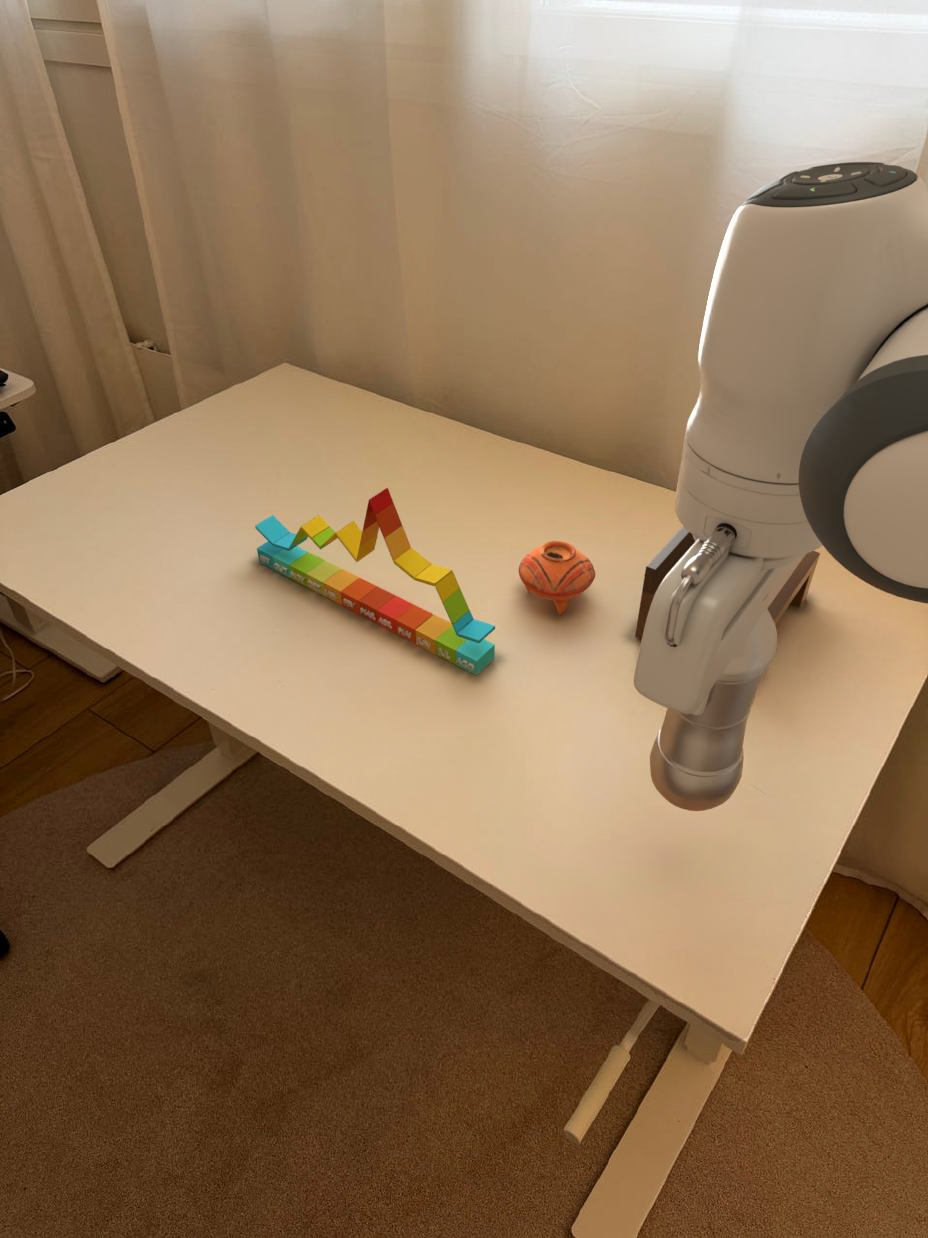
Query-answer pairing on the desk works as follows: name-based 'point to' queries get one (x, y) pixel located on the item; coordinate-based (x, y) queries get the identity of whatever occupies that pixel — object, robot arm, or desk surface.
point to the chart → (374, 603)
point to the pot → (556, 572)
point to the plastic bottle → (713, 730)
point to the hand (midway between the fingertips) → (717, 670)
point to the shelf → (679, 545)
